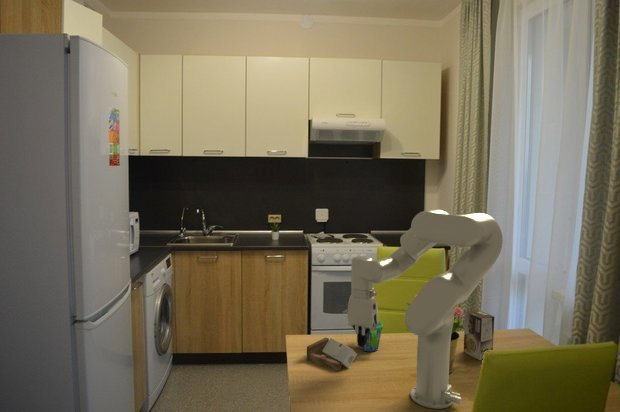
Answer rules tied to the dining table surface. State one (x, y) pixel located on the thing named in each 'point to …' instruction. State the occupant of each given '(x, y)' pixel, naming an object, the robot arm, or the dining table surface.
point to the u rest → (315, 356)
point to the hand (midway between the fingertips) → (362, 344)
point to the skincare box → (339, 352)
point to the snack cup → (373, 339)
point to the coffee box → (478, 333)
